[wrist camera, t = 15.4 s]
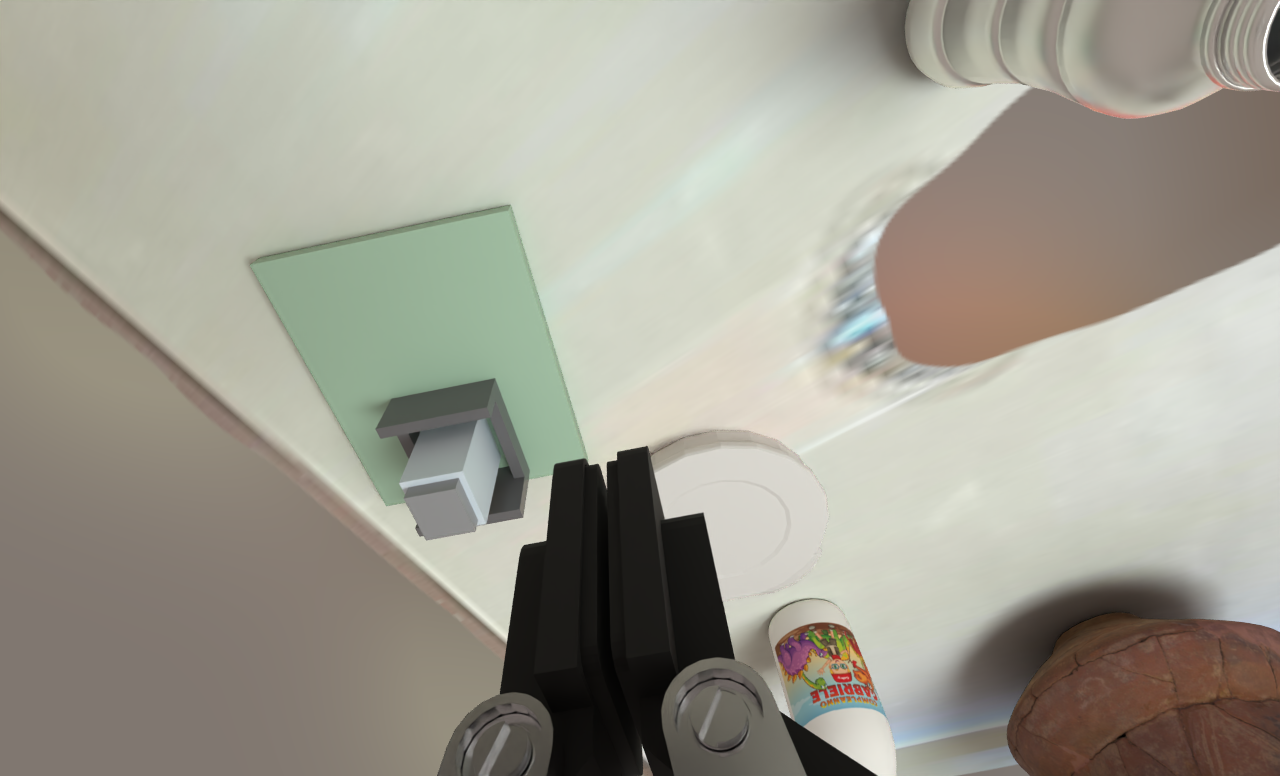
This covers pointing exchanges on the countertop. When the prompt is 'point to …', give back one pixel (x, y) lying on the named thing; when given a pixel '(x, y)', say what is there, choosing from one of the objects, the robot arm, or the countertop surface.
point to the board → (425, 332)
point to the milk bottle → (831, 683)
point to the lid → (746, 507)
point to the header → (461, 407)
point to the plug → (451, 478)
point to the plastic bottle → (1101, 48)
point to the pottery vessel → (1153, 701)
